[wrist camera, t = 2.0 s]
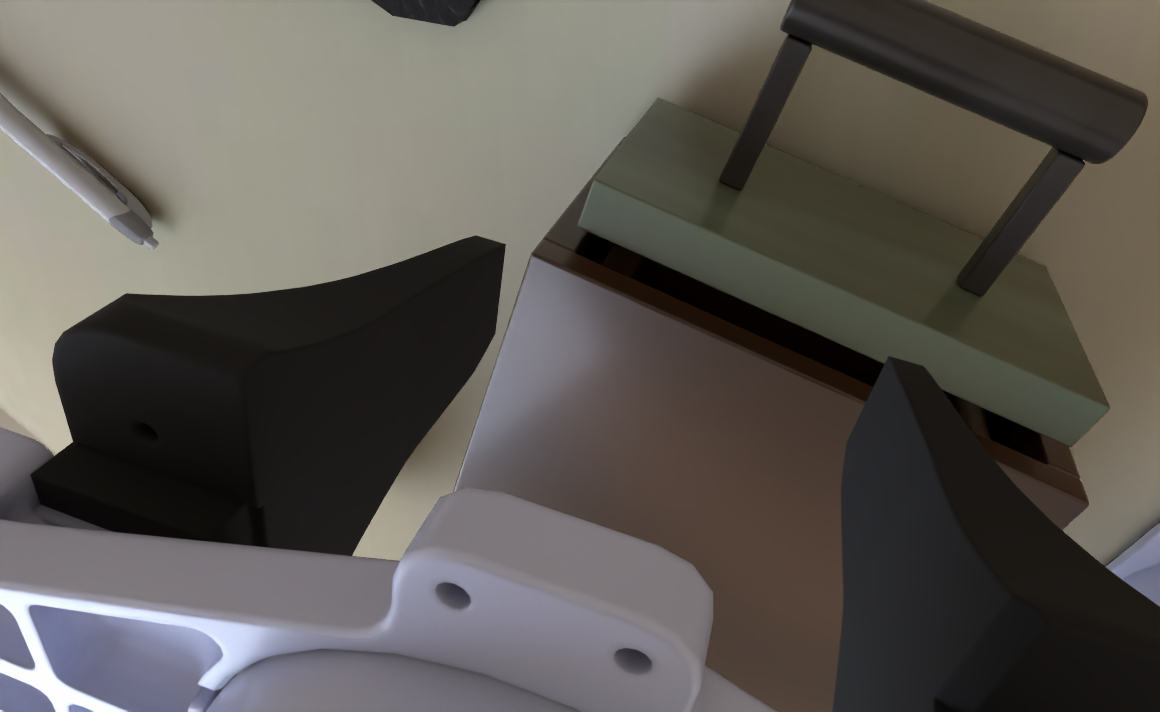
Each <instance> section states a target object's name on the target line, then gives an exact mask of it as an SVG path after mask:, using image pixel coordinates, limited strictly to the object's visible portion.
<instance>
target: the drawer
mask: <svg viewBox="0 0 1160 712" xmlns="http://www.w3.org/2000/svg"><path fill="white" fill-rule="evenodd" d="M780 30H781V31H783V32H785V33H787V34H786V36H785V38H784V41H783V43H782V45H781V47H780V49H779V51H778V53H777V55H776V58H775V60H774V62H773V64H772V66H771V68H770V70H769V73H768V75H767V77H766V79H765V81H764V83H763V85H762V87H761V90H760V92H759V94H758V96H757V98H756V100H755V102H754V104H753V107H752V109H751V111H750V113H749V115H748V117H747V119H746V122H745V124H744V126H743V128H742V130H741V132H740V133H738V132H736V131H734V130H732V129H729V128H727V127H725V126H722V125H720V124H718V123H716V122H713V121H711V120H709V119H706V118H704V117H702V116H699V115H697V114H695V113H693V112H690V111H688V110H686V109H683V108H681V107H679V106H676V105H674V104H672V103H670V102H667V101H665V100H663V99H660V98H658V99H657V100H656V101H655V102H654V104H653V105H652V106H651V107H650V109H649V110H648V111H647V112H646V114H645V115H644V116H643V118H642V119H641V120H640V121H639V123H638V124H637V125H636V126H635V128H634V129H633V130H632V132H631V133H630V134H629V135H628V137H627V138H626V139H625V140H624V142H623V143H622V144H621V146H620V147H619V148H618V149H617V151H616V152H615V153H614V154H613V156H612V157H611V158H610V160H609V161H608V162H607V163H606V165H605V166H604V167H603V168H602V170H601V171H600V172H599V174H598V175H597V176H596V177H595V179H594V180H593V183H592V185H591V188H590V191H589V194H588V196H587V199H586V202H585V205H584V208H583V210H582V213H581V216H580V219H579V221H578V224H577V225H578V227H579V228H581V229H583V230H585V231H588V232H590V233H592V234H594V235H597V236H599V237H601V238H603V239H606V240H608V241H610V242H612V243H614V245H613V247H612V248H611V250H610V251H609V253H608V255H607V256H606V258H605V260H604V261H603V263H602V266H605V267H607V268H609V269H611V270H614V271H616V272H618V273H620V274H622V275H625V276H627V277H629V278H631V279H634V280H636V281H638V282H640V283H643V284H645V285H647V286H649V287H651V288H654V289H656V290H658V291H660V292H663V293H665V294H667V295H669V296H671V297H674V298H676V299H678V300H680V301H683V302H685V303H687V304H689V305H692V306H694V307H696V308H698V309H700V310H703V311H705V312H707V313H709V314H712V315H714V316H716V317H718V318H720V319H723V320H725V321H727V322H729V323H732V324H734V325H736V326H738V327H741V328H743V329H745V330H747V331H749V332H752V333H754V334H756V335H758V336H761V337H763V338H765V339H767V340H769V341H772V342H774V343H776V344H778V345H781V346H783V347H785V348H787V349H790V350H792V351H794V352H796V353H798V354H801V355H803V356H805V357H807V358H810V359H812V360H814V361H816V362H818V363H821V364H823V365H825V366H827V367H830V368H832V369H834V370H836V371H839V372H841V373H843V374H845V375H847V376H850V377H852V378H854V379H856V380H859V381H861V382H863V383H865V384H868V385H870V386H872V387H874V385H875V383H876V381H877V379H878V377H879V375H880V373H881V371H882V368H883V366H884V364H885V362H886V360H887V358H888V356H891V357H894V358H898V359H901V360H904V361H908V362H911V363H915V364H918V365H922V366H924V367H925V368H926V369H927V371H928V372H929V373H930V374H931V376H932V377H933V378H934V380H935V381H936V382H937V384H938V385H939V387H940V388H941V390H942V391H943V392H944V394H945V395H946V397H947V398H948V399H949V401H950V402H951V404H952V405H953V407H954V408H955V409H956V411H957V412H958V414H959V415H960V416H961V418H962V419H963V421H964V422H965V423H966V425H967V426H968V427H969V429H970V430H971V431H972V432H974V433H977V434H979V435H981V436H983V437H986V438H988V439H990V440H991V438H990V434H989V429H988V425H987V421H986V416H985V412H984V409H986V410H988V411H990V412H993V413H995V414H997V415H999V416H1002V417H1004V418H1006V419H1008V420H1011V421H1013V422H1015V423H1017V424H1019V425H1022V426H1024V427H1026V428H1028V429H1031V430H1033V431H1035V432H1037V433H1040V434H1042V435H1044V436H1046V437H1049V438H1051V439H1053V440H1055V441H1057V442H1060V443H1062V444H1064V445H1066V446H1069V447H1072V446H1073V445H1074V444H1075V443H1076V442H1077V441H1078V440H1079V439H1080V438H1081V437H1082V436H1083V435H1084V434H1085V433H1086V432H1087V431H1088V430H1089V429H1090V428H1091V427H1092V426H1093V425H1094V424H1095V423H1096V422H1097V421H1098V420H1099V419H1100V418H1101V417H1102V416H1103V415H1104V414H1105V413H1106V412H1107V411H1108V410H1109V409H1110V406H1109V403H1108V401H1107V399H1106V397H1105V395H1104V392H1103V390H1102V388H1101V386H1100V384H1099V381H1098V379H1097V377H1096V375H1095V373H1094V371H1093V368H1092V366H1091V364H1090V362H1089V360H1088V357H1087V355H1086V353H1085V351H1084V349H1083V347H1082V344H1081V342H1080V340H1079V338H1078V336H1077V333H1076V331H1075V329H1074V327H1073V325H1072V323H1071V320H1070V318H1069V316H1068V314H1067V312H1066V309H1065V307H1064V305H1063V303H1062V301H1061V299H1060V296H1059V294H1058V292H1057V290H1056V288H1055V285H1054V283H1053V281H1052V279H1051V277H1050V275H1049V272H1048V270H1047V268H1046V266H1044V265H1042V264H1039V263H1037V262H1035V261H1032V260H1030V259H1028V258H1026V257H1023V256H1021V255H1019V254H1017V252H1018V251H1019V250H1020V249H1021V247H1022V246H1023V245H1024V243H1025V242H1026V241H1027V240H1028V238H1029V237H1030V236H1031V235H1032V233H1033V232H1034V231H1035V229H1036V228H1037V227H1038V226H1039V224H1040V223H1041V222H1042V220H1043V219H1044V218H1045V217H1046V215H1047V214H1048V213H1049V211H1050V210H1051V209H1052V208H1053V206H1054V205H1055V204H1056V202H1057V201H1058V200H1059V199H1060V197H1061V196H1062V195H1063V193H1064V192H1065V191H1066V190H1067V188H1068V187H1069V186H1070V184H1071V183H1072V182H1073V181H1074V179H1075V178H1076V177H1077V175H1078V174H1079V173H1080V172H1081V170H1082V169H1083V168H1084V166H1085V163H1084V161H1083V160H1085V161H1087V162H1090V163H1092V164H1101V163H1104V162H1106V161H1108V160H1109V159H1111V158H1112V157H1113V156H1115V155H1116V154H1117V153H1118V152H1119V151H1120V150H1121V149H1122V148H1123V147H1124V146H1125V145H1126V144H1127V142H1128V141H1129V140H1130V139H1131V137H1132V136H1133V135H1134V133H1135V132H1136V130H1137V129H1138V127H1139V125H1140V124H1141V122H1142V120H1143V118H1144V115H1145V113H1146V110H1147V106H1148V98H1147V96H1146V95H1145V93H1143V92H1141V91H1139V90H1137V89H1134V88H1132V87H1130V86H1127V85H1125V84H1122V83H1120V82H1118V81H1115V80H1113V79H1111V78H1108V77H1106V76H1103V75H1101V74H1099V73H1096V72H1094V71H1092V70H1089V69H1087V68H1084V67H1082V66H1080V65H1077V64H1075V63H1073V62H1070V61H1068V60H1065V59H1063V58H1061V57H1058V56H1056V55H1054V54H1051V53H1049V52H1046V51H1044V50H1042V49H1039V48H1037V47H1035V46H1032V45H1030V44H1027V43H1025V42H1023V41H1020V40H1018V39H1016V38H1013V37H1011V36H1008V35H1006V34H1004V33H1001V32H999V31H996V30H994V29H992V28H989V27H987V26H985V25H982V24H980V23H977V22H975V21H973V20H970V19H968V18H966V17H963V16H961V15H958V14H956V13H954V12H951V11H949V10H947V9H944V8H942V7H939V6H937V5H935V4H932V3H930V2H928V1H925V0H791V3H790V5H789V7H788V9H787V11H786V14H785V16H784V18H783V20H782V22H781V25H780ZM813 45H816V46H818V47H820V48H823V49H825V50H827V51H830V52H832V53H834V54H837V55H839V56H841V57H844V58H846V59H848V60H851V61H853V62H855V63H858V64H860V65H862V66H865V67H867V68H869V69H872V70H874V71H876V72H879V73H881V74H883V75H886V76H888V77H891V78H893V79H895V80H898V81H900V82H902V83H905V84H907V85H909V86H912V87H914V88H916V89H919V90H921V91H923V92H926V93H928V94H930V95H933V96H935V97H937V98H940V99H942V100H944V101H947V102H949V103H951V104H954V105H956V106H958V107H961V108H963V109H965V110H968V111H970V112H972V113H975V114H977V115H980V116H982V117H984V118H987V119H989V120H991V121H994V122H996V123H998V124H1001V125H1003V126H1005V127H1008V128H1010V129H1012V130H1015V131H1017V132H1019V133H1022V134H1024V135H1026V136H1029V137H1031V138H1033V139H1036V140H1038V141H1040V142H1043V143H1045V144H1047V145H1050V146H1052V147H1053V148H1052V149H1051V150H1050V151H1049V153H1048V154H1047V155H1046V157H1045V158H1044V160H1043V161H1042V162H1041V164H1040V165H1039V166H1038V168H1037V169H1036V170H1035V172H1034V173H1033V174H1032V176H1031V177H1030V178H1029V180H1028V181H1027V183H1026V184H1025V185H1024V187H1023V188H1022V189H1021V191H1020V192H1019V193H1018V195H1017V196H1016V197H1015V199H1014V200H1013V201H1012V203H1011V204H1010V206H1009V207H1008V208H1007V210H1006V211H1005V212H1004V214H1003V215H1002V216H1001V218H1000V219H999V220H998V222H997V223H996V224H995V226H994V227H993V229H992V230H991V231H990V233H989V234H988V235H987V237H986V238H985V239H982V238H980V237H977V236H975V235H973V234H970V233H968V232H966V231H964V230H961V229H959V228H957V227H954V226H952V225H950V224H948V223H945V222H943V221H941V220H938V219H936V218H934V217H931V216H929V215H927V214H925V213H922V212H920V211H918V210H915V209H913V208H911V207H908V206H906V205H904V204H902V203H899V202H897V201H895V200H892V199H890V198H888V197H885V196H883V195H881V194H879V193H876V192H874V191H872V190H869V189H867V188H865V187H863V186H860V185H858V184H856V183H853V182H851V181H849V180H846V179H844V178H842V177H840V176H837V175H835V174H833V173H830V172H828V171H826V170H823V169H821V168H819V167H817V166H814V165H812V164H810V163H807V162H805V161H803V160H801V159H798V158H796V157H794V156H791V155H789V154H787V153H784V152H782V151H780V150H778V149H775V148H773V147H771V146H768V145H766V144H765V143H766V141H767V139H768V137H769V135H770V133H771V131H772V129H773V127H774V125H775V123H776V121H777V119H778V117H779V115H780V113H781V111H782V109H783V107H784V105H785V103H786V101H787V99H788V97H789V95H790V93H791V91H792V89H793V87H794V85H795V83H796V80H797V78H798V76H799V74H800V72H801V70H802V68H803V66H804V64H805V62H806V60H807V58H808V56H809V54H810V52H811V50H812V46H813ZM1082 159H1083V160H1082Z"/></svg>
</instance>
